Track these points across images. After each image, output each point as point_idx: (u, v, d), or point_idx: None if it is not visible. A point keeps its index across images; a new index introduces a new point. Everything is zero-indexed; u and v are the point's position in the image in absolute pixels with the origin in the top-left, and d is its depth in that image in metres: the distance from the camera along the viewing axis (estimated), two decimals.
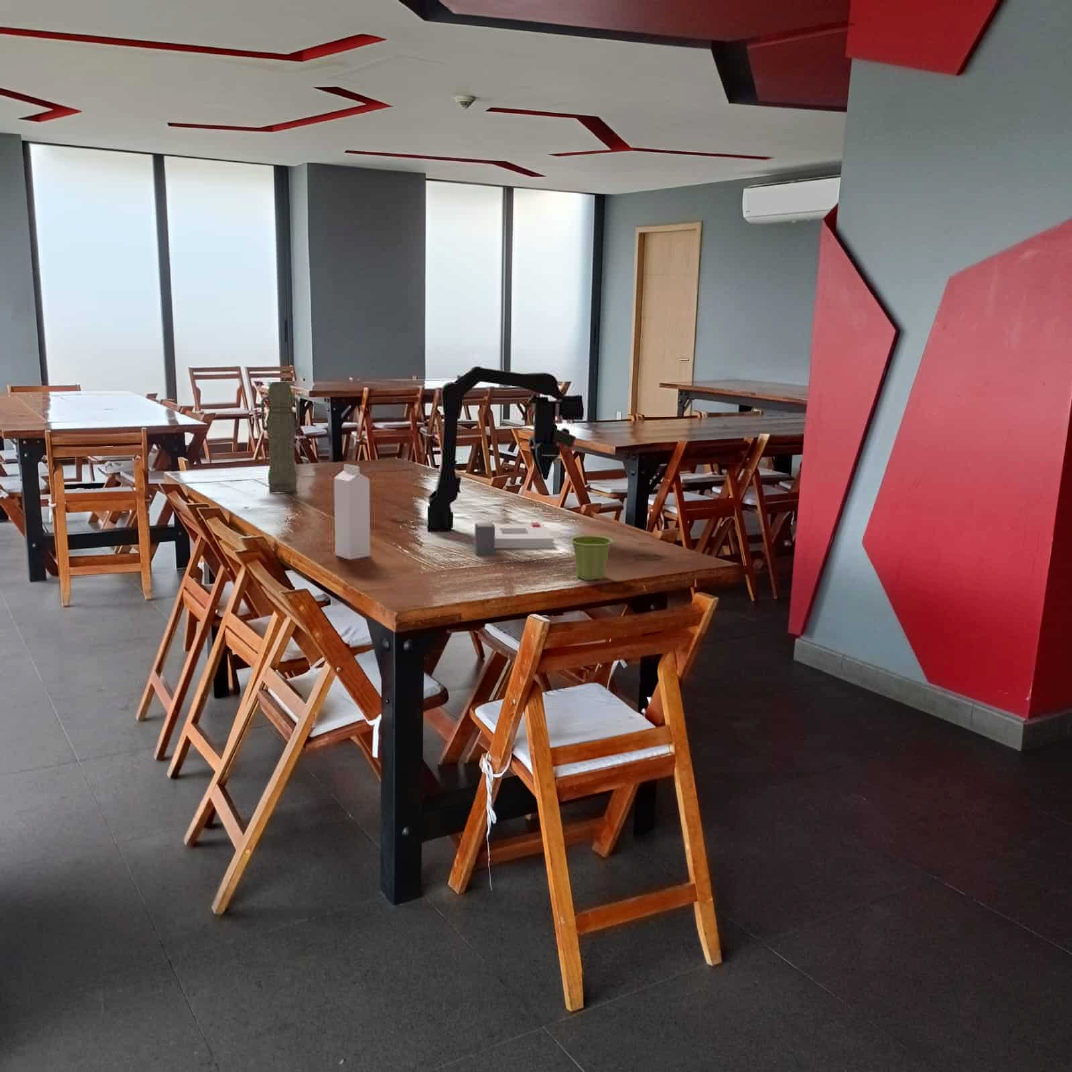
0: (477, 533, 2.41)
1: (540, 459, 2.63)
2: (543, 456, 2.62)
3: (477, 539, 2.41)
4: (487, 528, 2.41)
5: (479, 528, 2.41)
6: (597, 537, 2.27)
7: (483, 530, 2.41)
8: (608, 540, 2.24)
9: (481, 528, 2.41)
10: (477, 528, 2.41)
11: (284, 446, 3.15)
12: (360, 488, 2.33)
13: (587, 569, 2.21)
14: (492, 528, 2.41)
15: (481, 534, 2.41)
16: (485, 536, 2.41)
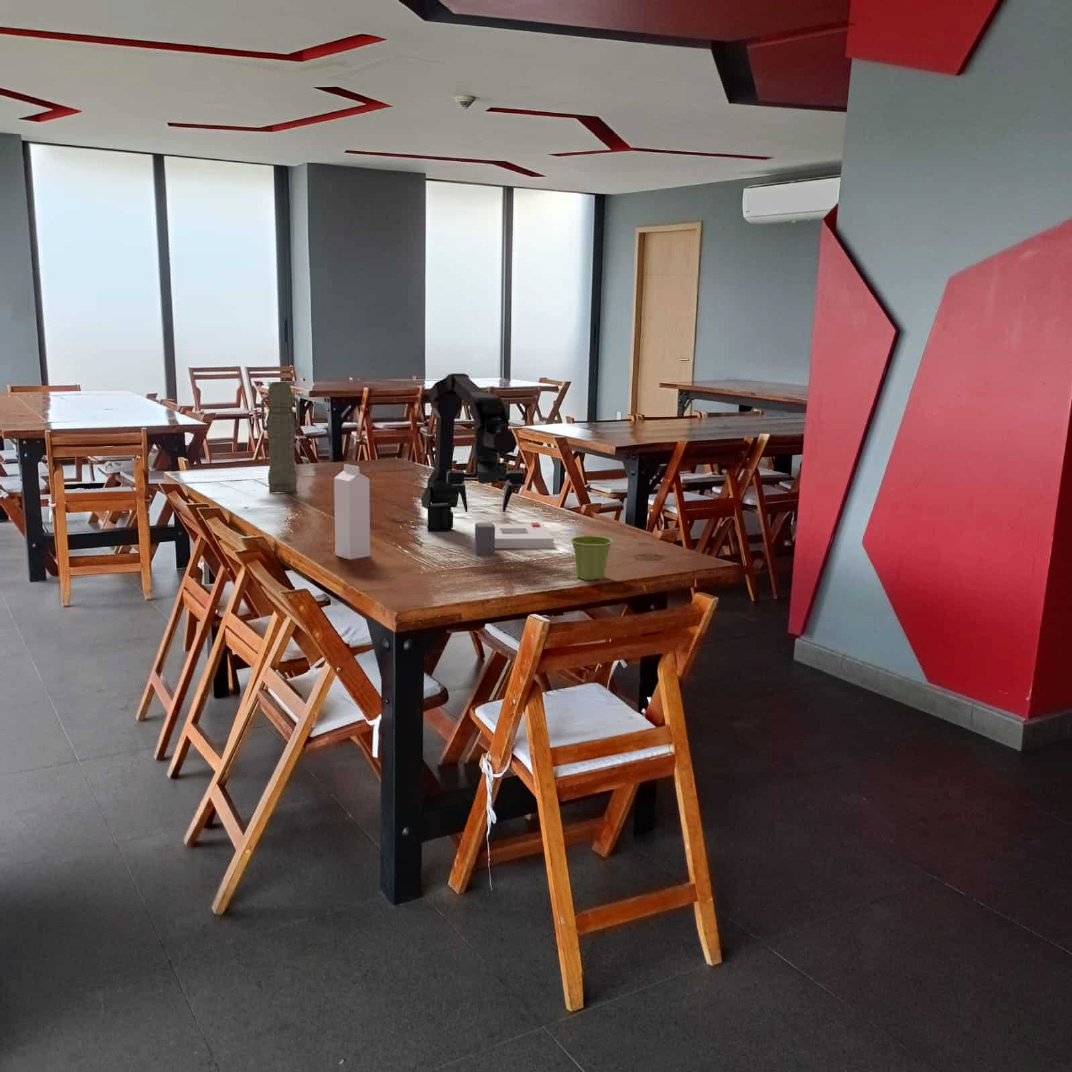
0: (477, 533, 2.41)
1: None
2: (452, 483, 2.41)
3: (477, 539, 2.41)
4: (487, 528, 2.41)
5: (479, 528, 2.41)
6: (597, 537, 2.27)
7: (483, 530, 2.41)
8: (608, 540, 2.24)
9: (481, 528, 2.41)
10: (477, 528, 2.41)
11: (284, 446, 3.15)
12: (360, 488, 2.33)
13: (587, 569, 2.21)
14: (492, 528, 2.41)
15: (481, 534, 2.41)
16: (485, 536, 2.41)
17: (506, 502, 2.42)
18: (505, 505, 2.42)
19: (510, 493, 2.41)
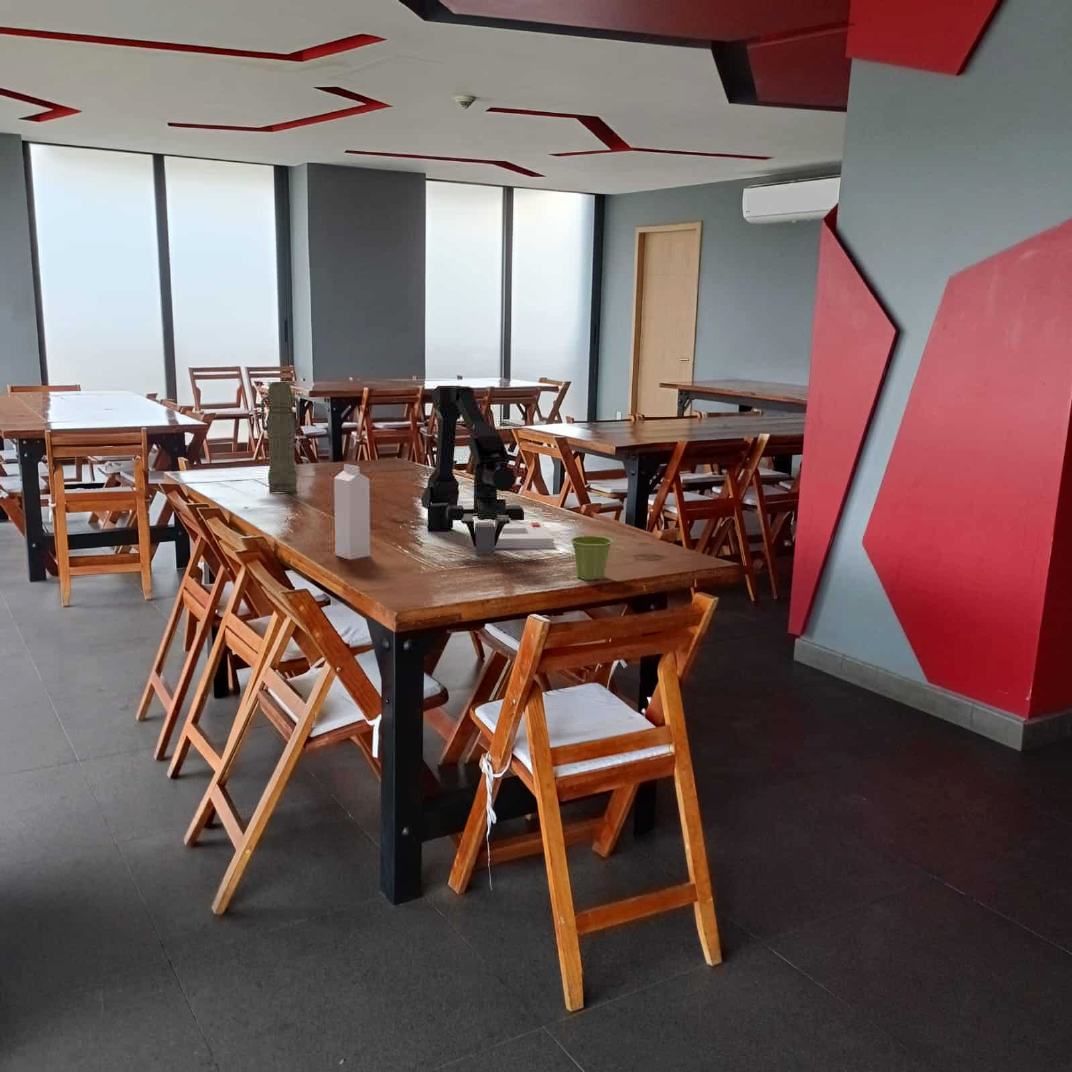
0: (477, 533, 2.41)
1: None
2: None
3: (477, 539, 2.41)
4: (487, 528, 2.41)
5: (479, 528, 2.41)
6: (597, 537, 2.27)
7: (483, 530, 2.41)
8: (608, 540, 2.24)
9: (481, 528, 2.41)
10: (477, 528, 2.41)
11: (284, 446, 3.15)
12: (360, 488, 2.33)
13: (587, 569, 2.21)
14: (492, 528, 2.41)
15: (481, 534, 2.41)
16: (485, 535, 2.41)
17: (497, 537, 2.43)
18: (496, 540, 2.43)
19: (500, 528, 2.42)
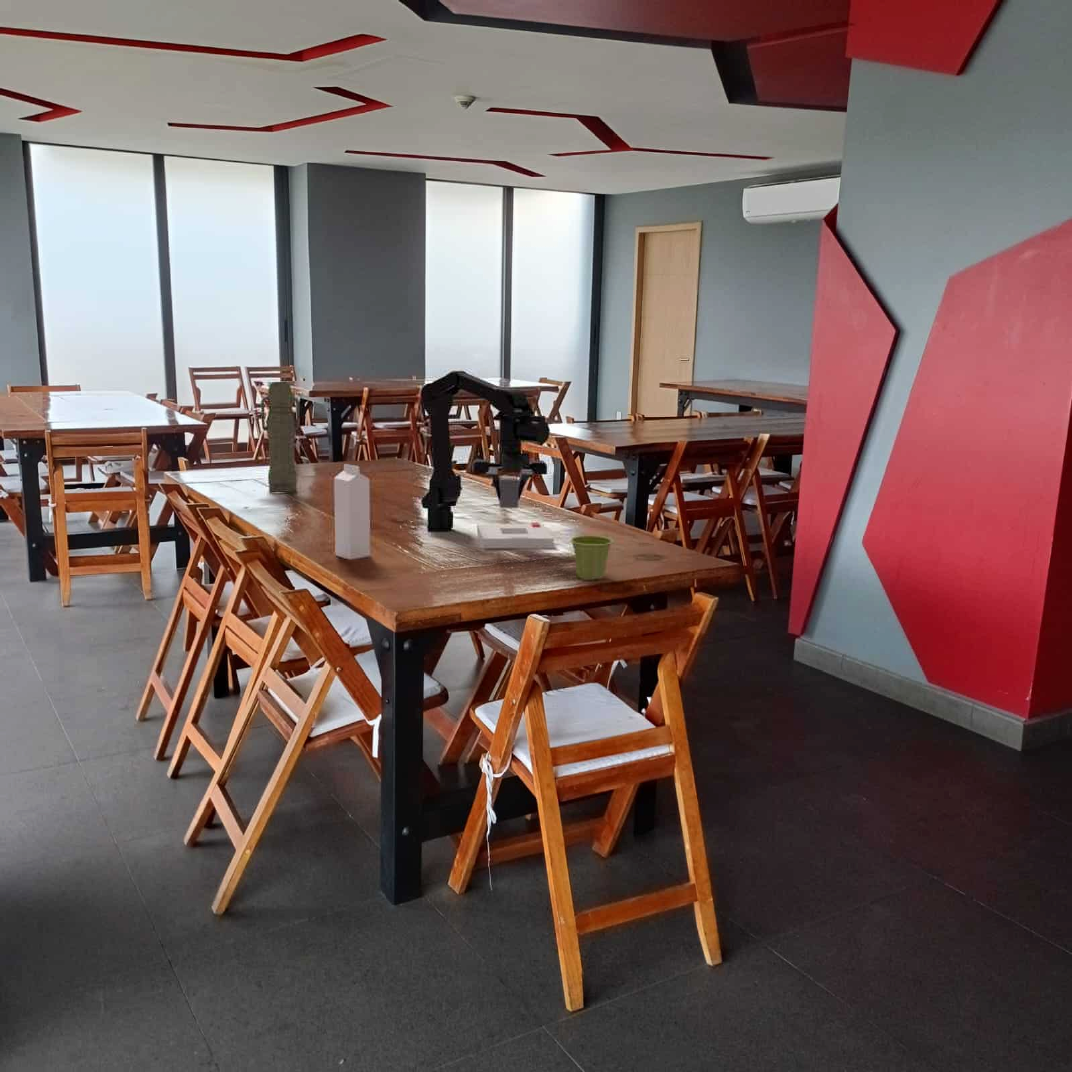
0: (501, 486, 2.50)
1: None
2: None
3: (501, 492, 2.51)
4: (511, 481, 2.50)
5: (503, 481, 2.50)
6: (597, 537, 2.27)
7: (507, 483, 2.50)
8: (608, 540, 2.24)
9: (505, 481, 2.50)
10: (502, 481, 2.50)
11: (284, 446, 3.15)
12: (360, 488, 2.33)
13: (587, 569, 2.21)
14: (516, 481, 2.51)
15: (505, 487, 2.51)
16: (509, 488, 2.51)
17: (520, 491, 2.53)
18: (519, 493, 2.53)
19: (524, 482, 2.52)
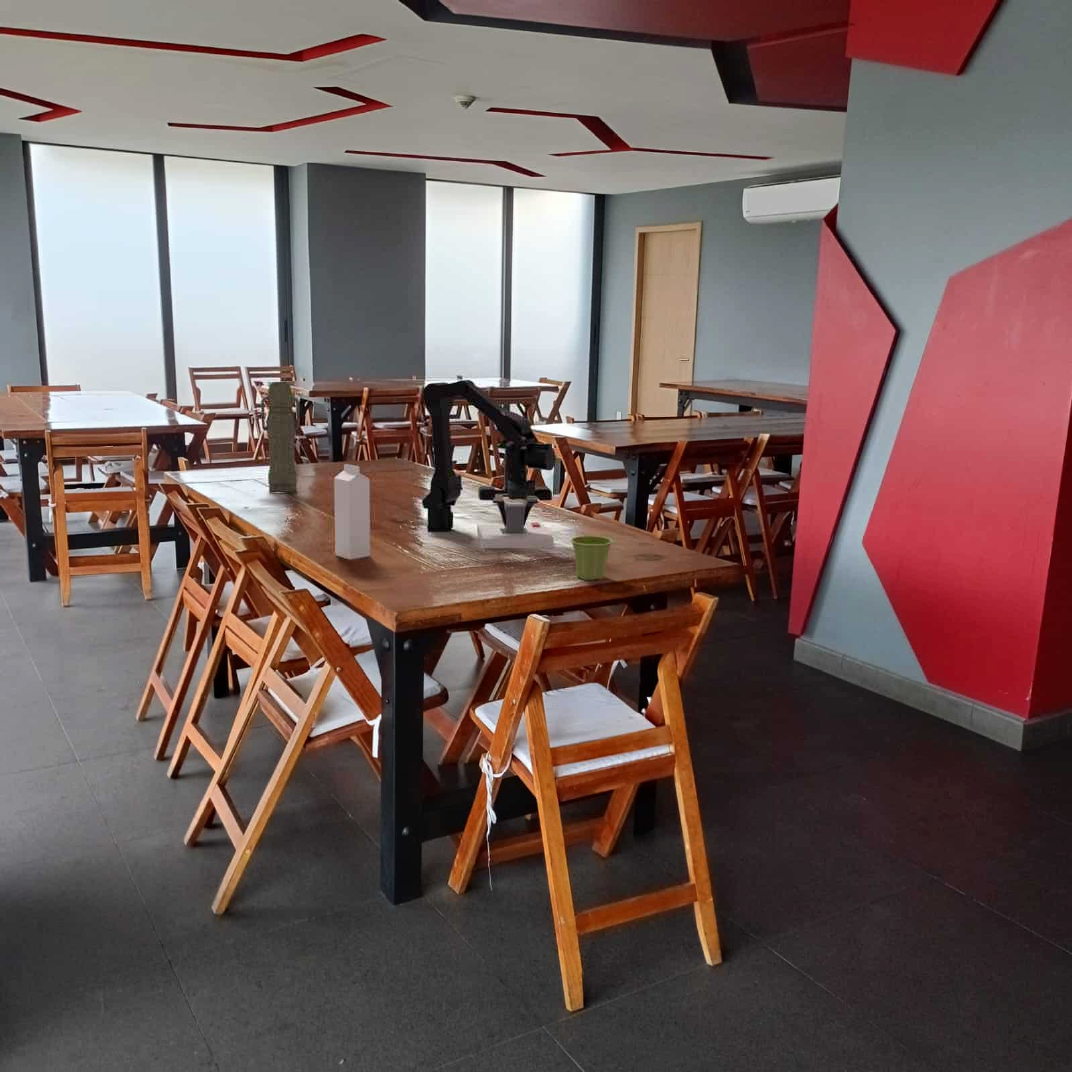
0: (507, 512, 2.55)
1: None
2: None
3: (507, 518, 2.56)
4: (517, 508, 2.55)
5: (509, 507, 2.55)
6: (597, 537, 2.27)
7: (513, 509, 2.55)
8: (608, 540, 2.24)
9: (511, 507, 2.55)
10: (507, 507, 2.55)
11: (284, 446, 3.15)
12: (360, 488, 2.33)
13: (587, 569, 2.21)
14: (522, 508, 2.55)
15: (511, 513, 2.55)
16: (515, 515, 2.56)
17: (526, 516, 2.57)
18: (525, 519, 2.58)
19: (529, 508, 2.57)
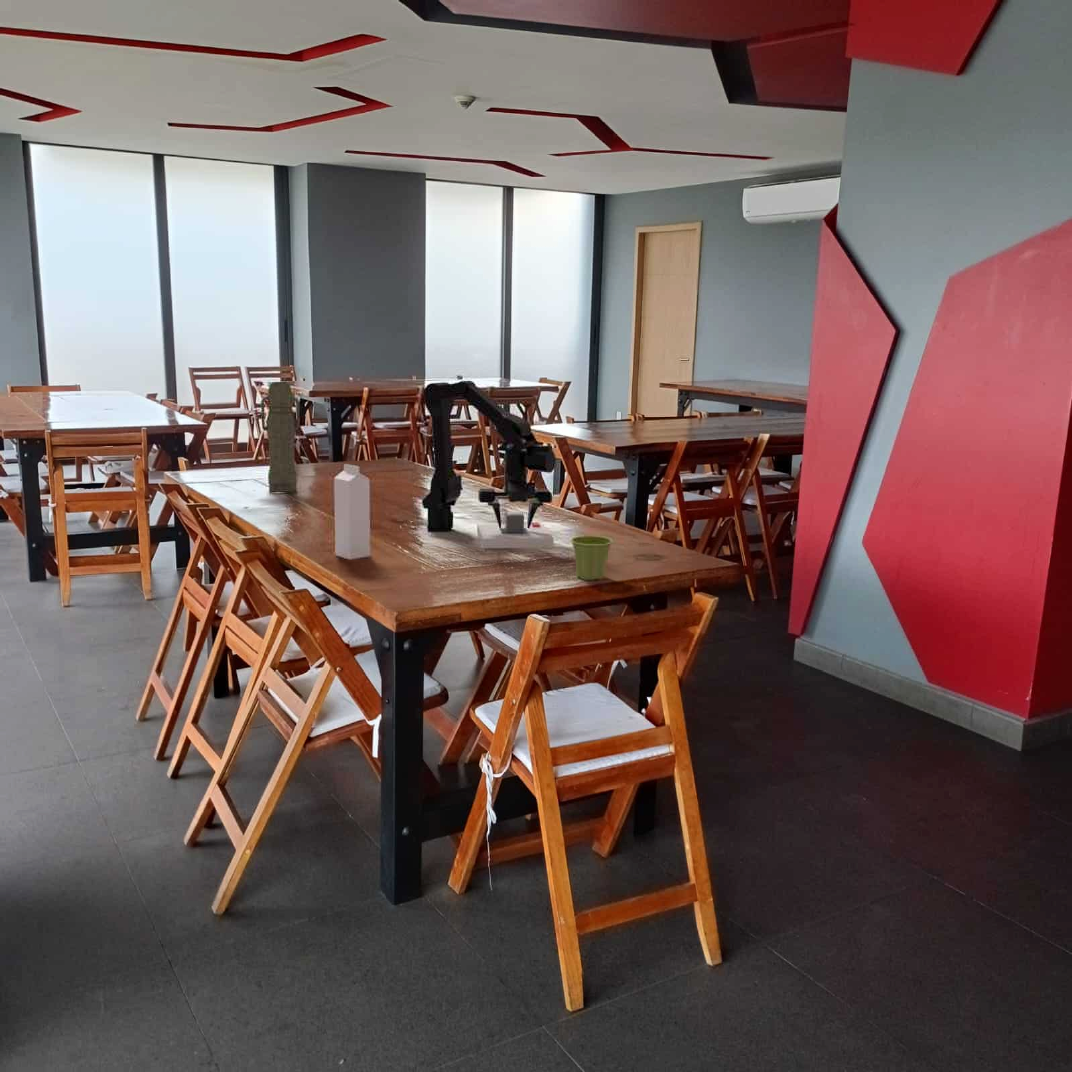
0: (507, 521, 2.56)
1: None
2: None
3: (507, 527, 2.56)
4: (517, 517, 2.56)
5: (509, 517, 2.55)
6: (597, 537, 2.27)
7: (513, 519, 2.56)
8: (608, 540, 2.24)
9: (511, 517, 2.56)
10: (507, 517, 2.55)
11: (284, 446, 3.15)
12: (360, 488, 2.33)
13: (587, 569, 2.21)
14: (521, 517, 2.56)
15: (511, 522, 2.56)
16: (514, 524, 2.56)
17: (531, 519, 2.58)
18: (530, 521, 2.58)
19: (534, 510, 2.57)
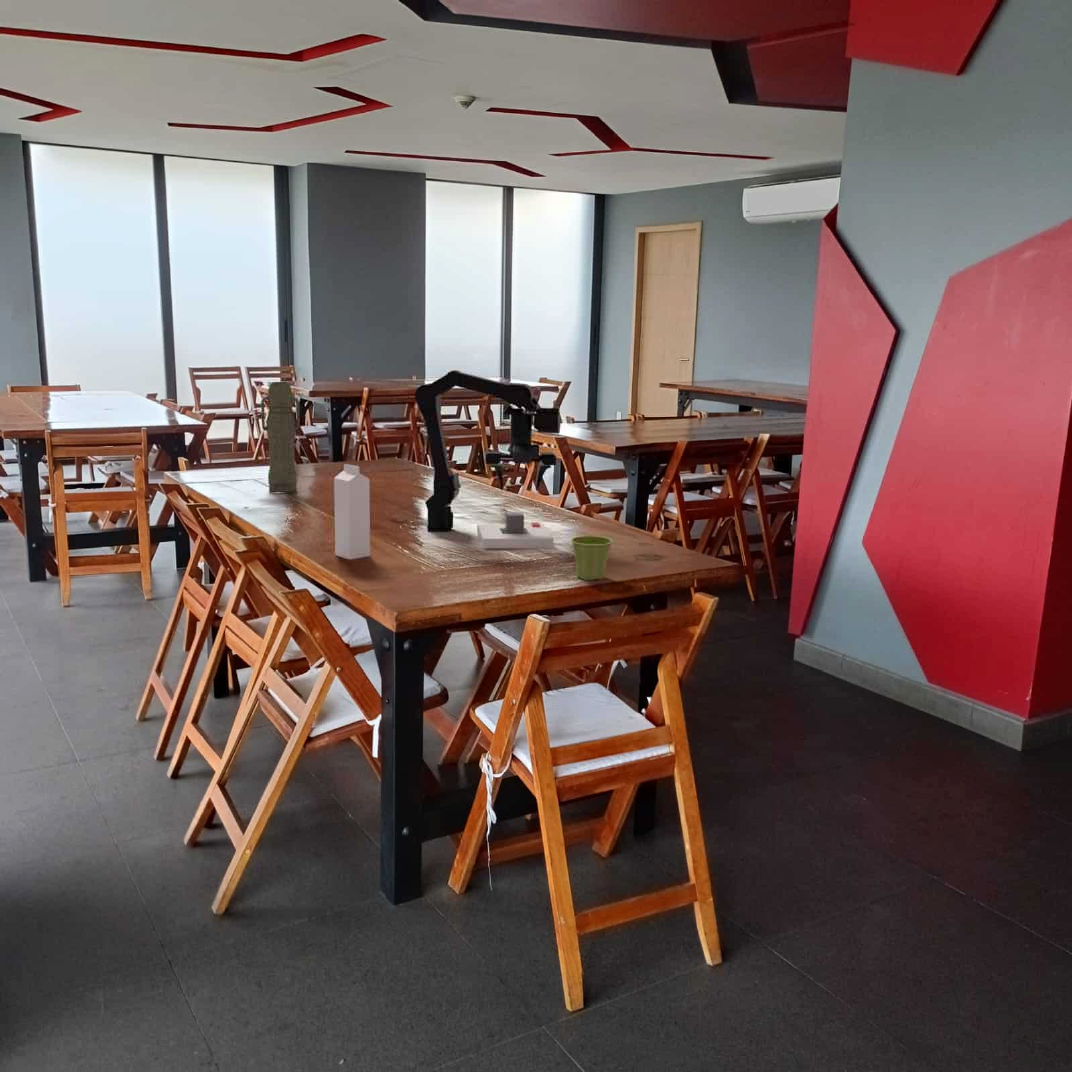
0: (507, 521, 2.56)
1: None
2: None
3: (507, 527, 2.56)
4: (517, 517, 2.56)
5: (509, 517, 2.55)
6: (597, 537, 2.27)
7: (513, 519, 2.56)
8: (608, 540, 2.24)
9: (511, 517, 2.56)
10: (507, 517, 2.55)
11: (284, 446, 3.15)
12: (360, 488, 2.33)
13: (587, 569, 2.21)
14: (521, 517, 2.56)
15: (511, 522, 2.56)
16: (514, 524, 2.56)
17: (539, 481, 2.64)
18: (538, 484, 2.64)
19: (542, 473, 2.63)
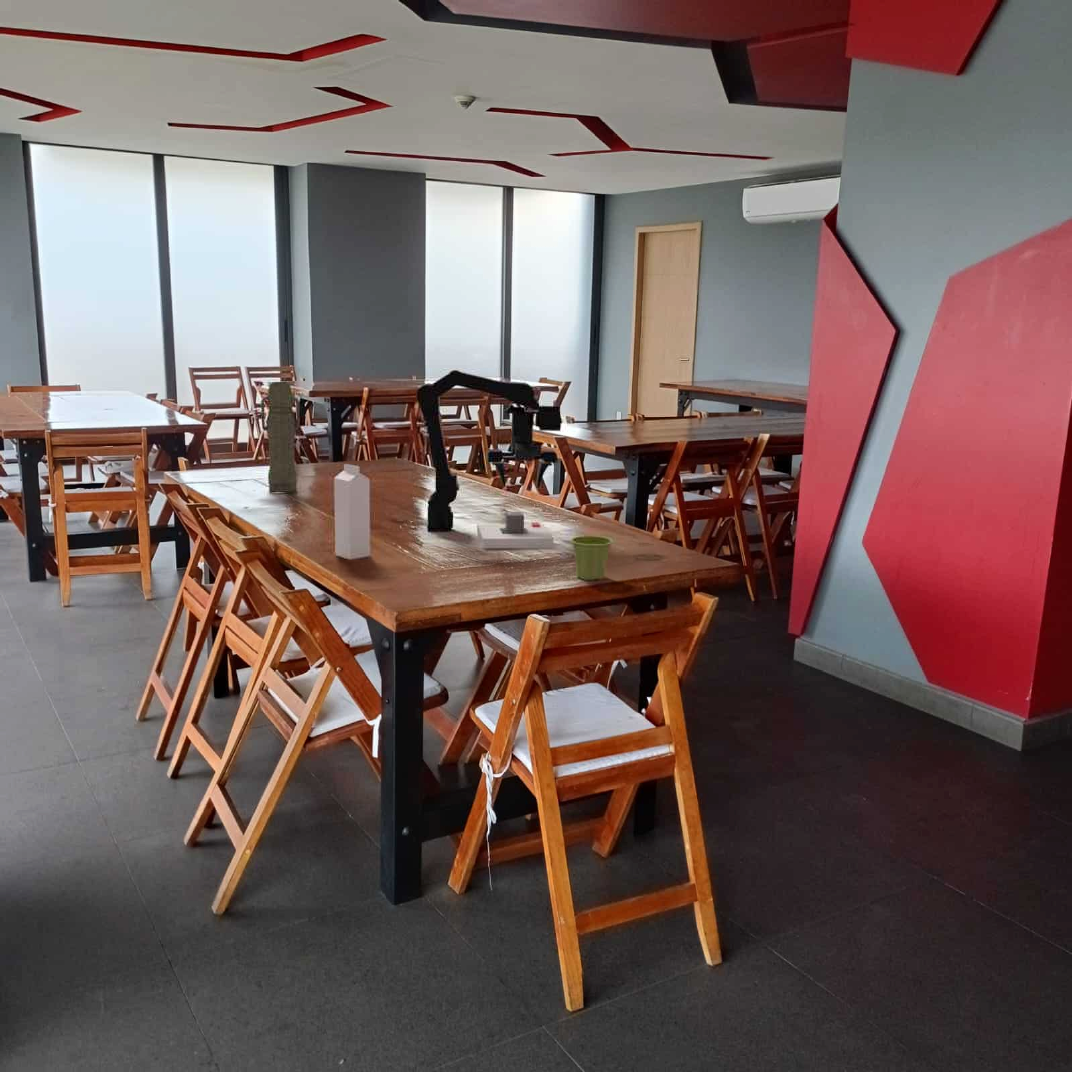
0: (507, 521, 2.56)
1: (496, 465, 2.68)
2: (491, 462, 2.67)
3: (507, 527, 2.56)
4: (517, 517, 2.56)
5: (509, 517, 2.55)
6: (597, 537, 2.27)
7: (513, 519, 2.56)
8: (608, 540, 2.24)
9: (511, 517, 2.56)
10: (507, 517, 2.55)
11: (284, 446, 3.15)
12: (360, 488, 2.33)
13: (587, 569, 2.21)
14: (521, 517, 2.56)
15: (511, 522, 2.56)
16: (514, 524, 2.56)
17: (540, 478, 2.68)
18: (539, 481, 2.68)
19: (543, 470, 2.67)
